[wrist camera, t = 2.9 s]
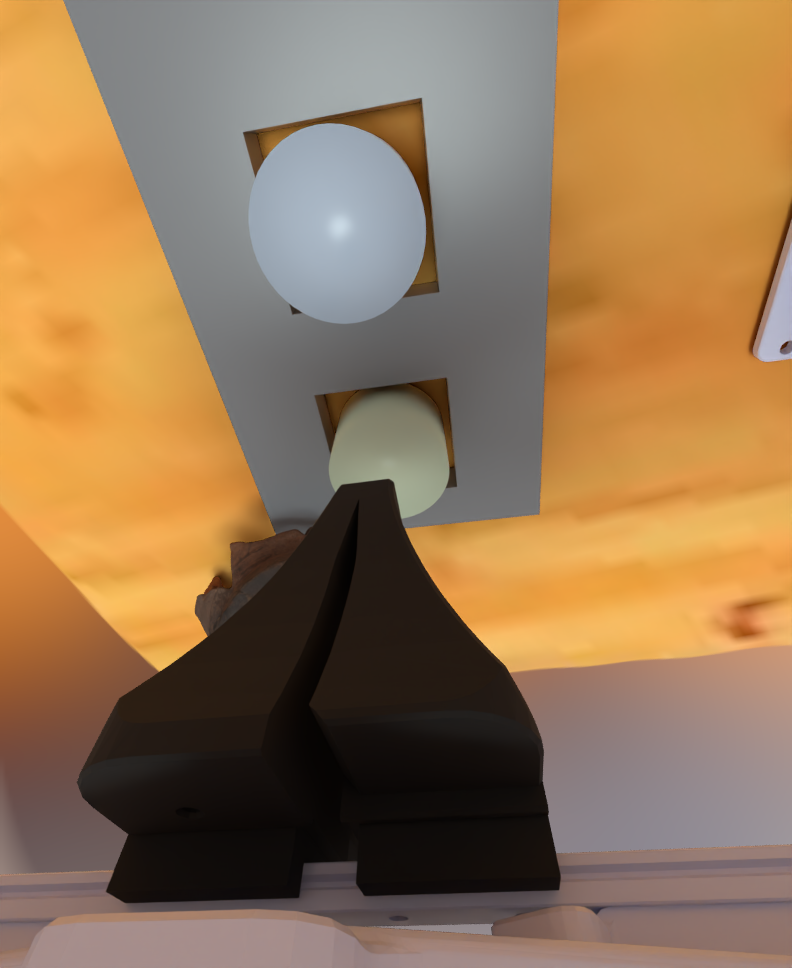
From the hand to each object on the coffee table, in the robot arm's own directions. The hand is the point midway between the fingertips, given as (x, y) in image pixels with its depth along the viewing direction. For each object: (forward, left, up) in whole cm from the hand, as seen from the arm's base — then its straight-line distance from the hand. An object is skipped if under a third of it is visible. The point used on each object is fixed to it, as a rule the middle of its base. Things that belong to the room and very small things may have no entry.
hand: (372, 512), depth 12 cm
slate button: (0, -6, -7) cm, 9 cm away
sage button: (0, +2, -8) cm, 8 cm away
